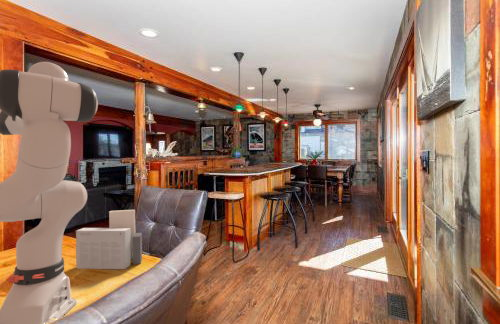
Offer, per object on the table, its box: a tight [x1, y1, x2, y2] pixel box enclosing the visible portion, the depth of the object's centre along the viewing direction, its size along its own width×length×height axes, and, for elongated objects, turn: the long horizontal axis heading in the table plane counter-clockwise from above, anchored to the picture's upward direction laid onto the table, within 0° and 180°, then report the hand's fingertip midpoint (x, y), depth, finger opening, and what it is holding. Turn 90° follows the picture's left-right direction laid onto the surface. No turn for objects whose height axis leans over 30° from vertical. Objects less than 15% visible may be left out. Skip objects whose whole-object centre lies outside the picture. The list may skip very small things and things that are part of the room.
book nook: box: [108, 209, 143, 265], centre depth 120 cm, size 8×13×22 cm, turn 105°
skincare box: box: [75, 227, 132, 270], centre depth 115 cm, size 21×6×16 cm, turn 87°
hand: (39, 179), depth 109 cm, fingers open, 8 cm apart
